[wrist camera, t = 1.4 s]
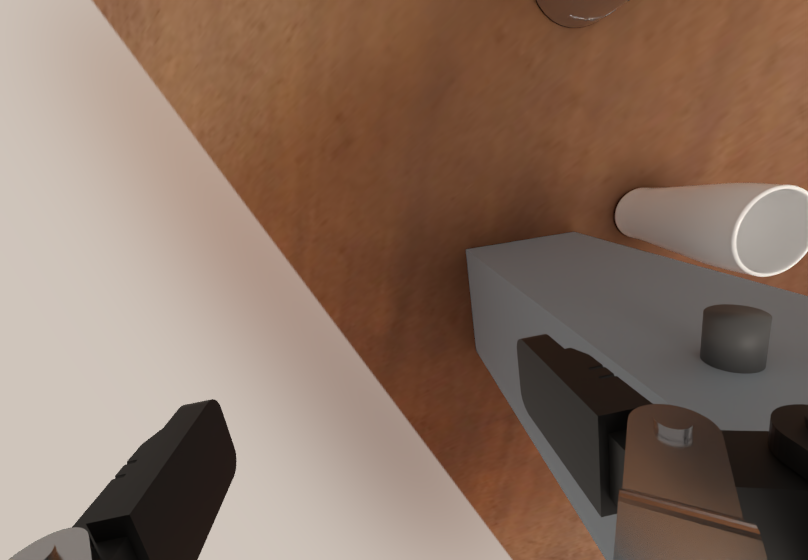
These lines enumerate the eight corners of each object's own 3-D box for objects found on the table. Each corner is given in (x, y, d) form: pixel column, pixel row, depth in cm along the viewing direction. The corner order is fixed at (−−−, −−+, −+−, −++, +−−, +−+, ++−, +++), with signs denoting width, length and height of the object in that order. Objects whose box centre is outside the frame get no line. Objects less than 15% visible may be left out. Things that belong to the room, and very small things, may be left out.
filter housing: (463, 230, 40) (1269, 699, 4) (573, 213, 41) (2084, 496, 5) (477, 365, 45) (934, 1154, 9) (576, 347, 45) (1385, 1018, 9)
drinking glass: (612, 252, 43) (736, 291, 28) (600, 193, 41) (727, 203, 26) (669, 230, 43) (823, 259, 28) (660, 170, 41) (820, 168, 26)
